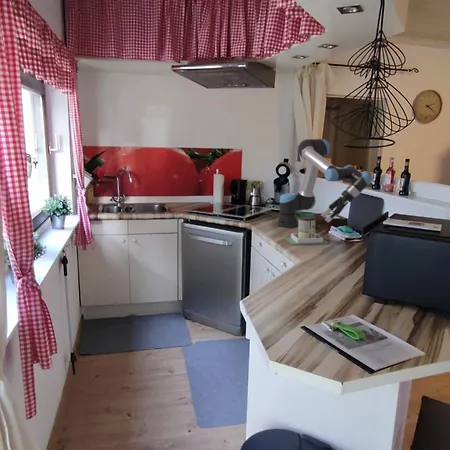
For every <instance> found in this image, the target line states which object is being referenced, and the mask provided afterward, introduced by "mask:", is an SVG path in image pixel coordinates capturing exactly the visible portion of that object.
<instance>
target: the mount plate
mask: <svg viewBox="0 0 450 450" xmlns="http://www.w3.org/2000/svg"><path fill="white" fill-rule="evenodd" d="M284 238H285V240H286V241H287V242H288V243H289V244H291V246H311V245H312V246H313V245H314V246H315V245H318V246H319V245H329V242H328V241H327V240H326V239H324V238H323V237H321V236H320V235H319V234H317V233H316V232H315V238H311V239H298V232H297V233H296V232H295V233H290V236H287V237H284Z"/></svg>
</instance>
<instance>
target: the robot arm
mask: <svg viewBox="0 0 450 450" xmlns="http://www.w3.org/2000/svg"><path fill="white" fill-rule="evenodd" d="M330 152H331V146H330V143H329V141H328V140H326V139H324V138H322V139H321V138H313V139H312V138H308V139H303V140H302V141H300V143H299V144H298V146H297V153H298V155H299V156H300V157H301V158H302V159H303V160H307V164H306V169H305V172H304V177H303V180H302V184H301V188H300V189H299V190H298V192H297V193H295V192H287V193H283V194H281V195H279V196H280V197H279V216H278V219H277V222H276V225H277V226H278V227H280V228H296V227H298V226H299V220H298V218H297V214H296V211H308V210H311V209H313V208H314V207H315V206H316V196H315V193H314V188H315V185H316V181H317V178H318V174H319V171H320V172H321V173H323V174H324V178H325V180H326V181H327V182H338V181H339V182H341V181H342V182H343V181H350V182H351V184H349V185H348V186H347V187H346V189H344V191H342V192H341V196H339V197H338V198H337V199H335V200H334V201H332V202H331V204H329V205H328V207H327V209H326V210H325V211H324V212H323V213H321V216H322V218H325V219H324V220H325V221H326V222H327V223H330V222H331V221H332V220H333V219H335V217H336V216H337V215H340V213H341V212H342V211H343V210H344V209H345V207H346V206H347V205H348V203H351V202H352V201H353V200H355V198H357V197H358V196H360V194H361V193H362V191H364V190H365V189H366V188H367V187H368V186H369V185H370V184H371V183H372V181H374V179H373V176H372V175H371V174H370V173H369V172H367V171H365V170H364V171H363V172H361V171H359V170H358V169H357V168H356V167H355V166H353V165H351V164H347V165H345V166H343V168H342V167H341V168H338V167H337V166H335V165H334V164H333V163H331V162H330V161H329V160H328V159H326V157H327V156H329V154H330Z"/></svg>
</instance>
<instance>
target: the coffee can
mask: <svg viewBox="0 0 450 450" xmlns="http://www.w3.org/2000/svg"><path fill="white" fill-rule="evenodd" d="M297 220H298V226H297V228H298V230H297V231H298V232H297V233H298V239H311V238H315V233H316V217H315V216H313V215H312V216H311V215H302V216H298V218H297Z"/></svg>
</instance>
